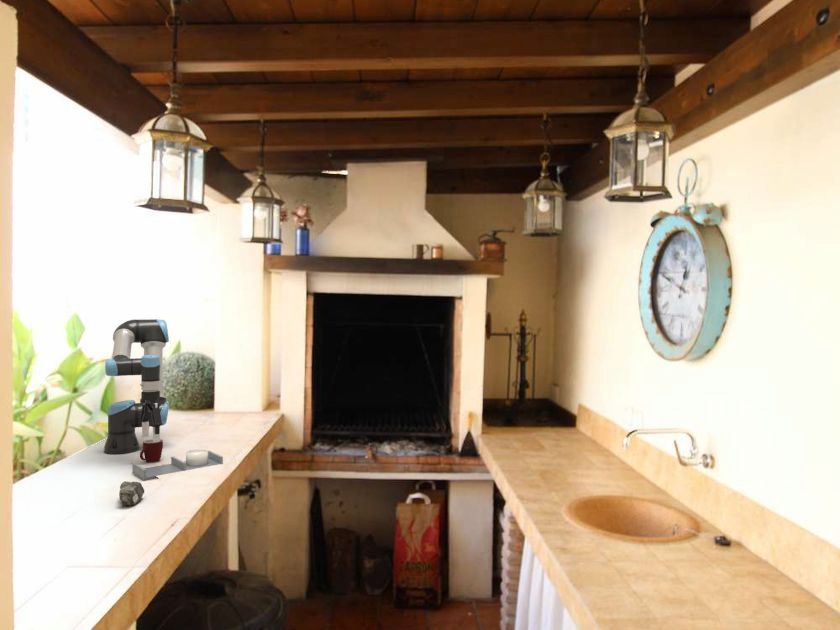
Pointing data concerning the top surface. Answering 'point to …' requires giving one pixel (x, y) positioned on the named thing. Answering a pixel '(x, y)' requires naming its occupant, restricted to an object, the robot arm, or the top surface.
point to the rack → (172, 467)
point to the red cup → (151, 450)
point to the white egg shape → (197, 458)
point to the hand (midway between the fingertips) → (150, 439)
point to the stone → (130, 493)
